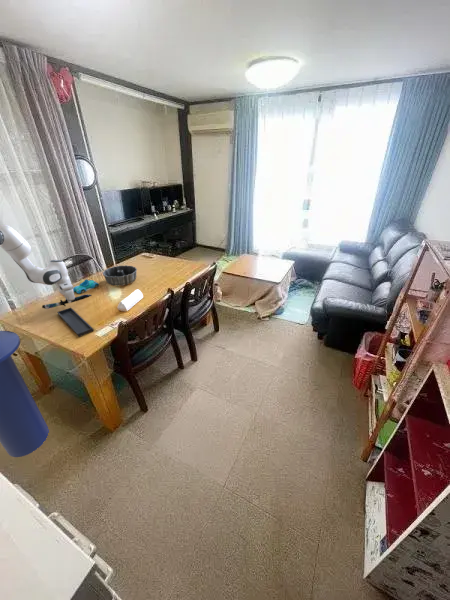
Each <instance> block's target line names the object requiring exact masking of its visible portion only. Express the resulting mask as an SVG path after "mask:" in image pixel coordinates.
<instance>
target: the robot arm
mask: <svg viewBox="0 0 450 600" xmlns="http://www.w3.org/2000/svg"><path fill="white" fill-rule="evenodd" d="M0 247H1V249H2V250H3V251H4V252H6V253H7V254H8V256H10V257H11V259H12V260H13V261H14V262H15V263H16V264H17V266H18V267H20V269H21V270H22V271H23V272H24V274H25V276H26V279H27V280H28V281H29V282H30V283H33V284H40V285H46V286H53V285H55V288H56V289H57V290H58V292H59V293H60V294H61V295H62V296H63V297H64V299H65V300H66V299H67V301H68V304H71V300H74V299H75V297H76V296H75V292H74V291H73V288H74V285H73V284H72V281H71V278H70V276H69V274H68V273H69V271H68V268H67V266H66V263H65V262H64V261H63V260H60V259H52V260H51V259H50V260H49V262H48V264H47V266H46V267H44V268H43V267H39V266H36V265H35V264H34V263H33V262H32V261H31V259H29V257H28V256H30V254H31V252H32V246H31V245H30V243H29V242H28V241H27V240H26V239H25V238H24V236H22V235H21V234H20V233H19V232H18V231H17V230H15V229H14V228H13V227H12V226H11V225H8V224H6V223H5V224H3V223H2V224H0Z"/></svg>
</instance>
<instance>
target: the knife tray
mask: <svg viewBox="0 0 450 600" xmlns="http://www.w3.org/2000/svg"><path fill="white" fill-rule="evenodd" d="M57 316H58V317H59V318H60V319H61V320H62V321H63V322H64V323H65V324H66V325H67V326H68V328H69V329H70V330H71V331H73V333H74V334H75V335H76V336H77V337H78V338H81V337H83V336H85V335H87V334H90V333H92V332H94V328H93V327H92V326H91V325H90V324H89V323H88V322H87V321H86V320H85V319H84V318H83V317H82V316H80V315H79V314H78V313H77V312H76V311H75V310H74V309H73V308H72V307H68V308H65V309H62V310H59V311H57Z"/></svg>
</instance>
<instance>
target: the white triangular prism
mask: <svg viewBox="0 0 450 600" xmlns="http://www.w3.org/2000/svg"><path fill="white" fill-rule="evenodd" d="M143 298H144V294H143V292H142V291H141V290H140V289H139V288H136V289H135V290H134V291H132V292H131V293H130V294H129V295H128V296H126V297H125V298H124V299H122V300H121V301H119V303H118V305H117V307H116V308H117V310H118V311H120V312H128V311H129V310H130V309H132V308H133V307H135V305H136V304H137V303H139V302H140V301H141V300H142V299H143Z"/></svg>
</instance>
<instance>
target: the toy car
mask: <svg viewBox="0 0 450 600" xmlns="http://www.w3.org/2000/svg"><path fill="white" fill-rule="evenodd" d="M99 285H100V283H99V282H97V281H95V280H93V279H84V281H83V282H81V283H79V285H75V286H73V288H72V289H73V291H74V293H76V294H77V295H80V294H81V293H82V294H83V293H85V292H87V291H88V292H89V291H90V290H92V289H95V288H97V287H98V286H99ZM99 287H100V286H99Z"/></svg>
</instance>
